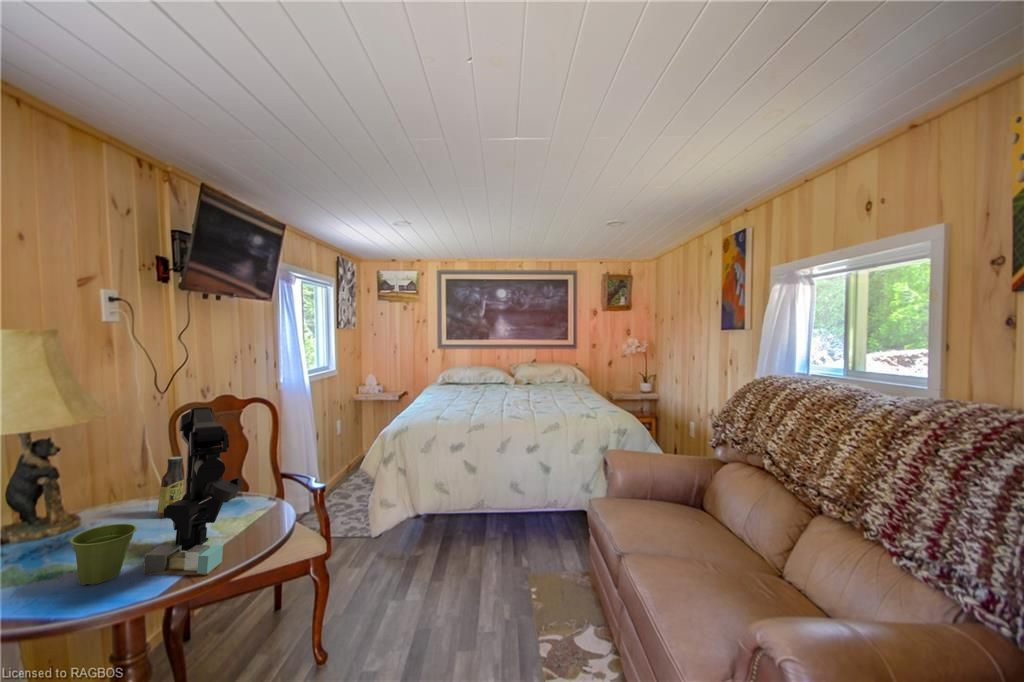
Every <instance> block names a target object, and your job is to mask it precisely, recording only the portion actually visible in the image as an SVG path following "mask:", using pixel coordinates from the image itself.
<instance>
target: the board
mask: <svg viewBox="0 0 1024 682" xmlns="http://www.w3.org/2000/svg"><path fill="white" fill-rule="evenodd" d="M220 564H221V565H222V562H221V563H220ZM220 564H219V565H220ZM219 565H217V566H219ZM221 565H220V566H221ZM217 566H216V567H217ZM220 566H219V567H220ZM216 567H215V568H216ZM215 568H213V569H215ZM217 568H218V567H217ZM217 568H216V569H217ZM213 569H212V570H213ZM216 569H215V570H216ZM212 570H211V571H212ZM211 571H210V572H211ZM210 572H208V573H210ZM212 572H213V571H212ZM212 572H211V573H212ZM208 573H207V574H208ZM211 573H210V574H211ZM143 574H144V575H163V576H164V575H167V576H169V575H174V576H175V575H176V576H196V575H195V574H199V573H197V571H187V570H181V569H166V571H165V572H164V573H156V572H144V571H143ZM178 574H179V575H178ZM193 574H194V575H193Z"/></svg>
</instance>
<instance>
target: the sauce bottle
mask: <svg viewBox="0 0 1024 682" xmlns="http://www.w3.org/2000/svg"><path fill="white" fill-rule="evenodd" d="M183 460H184V457H183V456H170V457H168V458H167V468H166V472H165V474H164V475H163V476H162V478H161V483H160V488H159V489H160V490H159V496H158V505H157V517H158V518H161V519H164V518H167V517H163V510H164V508H165V507H166V506H167V505H169V504H171V503H174V502H176V501H178V500H181V499H182V498H183V496H184V487H185V477H184V474H183V471H182V469H183V468H182V466H183V465H182V464H183Z"/></svg>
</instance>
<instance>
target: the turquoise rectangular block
mask: <svg viewBox="0 0 1024 682" xmlns="http://www.w3.org/2000/svg"><path fill="white" fill-rule="evenodd" d="M223 551H224V545H223V544H214V545H211V546H210V548H209V549H208V550H206V551H205V552H203V553H202V554H200V555H199V557H198V568H197V573H199V574H207V573H208V572H210V571H211V570H212V569H213V568H215V567H216V566H217V565H219V564H220V563H221V564H222V561H223Z"/></svg>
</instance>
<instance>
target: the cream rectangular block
mask: <svg viewBox="0 0 1024 682" xmlns="http://www.w3.org/2000/svg"><path fill="white" fill-rule="evenodd" d="M210 547H211V545H210V544H201V545H196V546H194V547H193V548H191V549H190V550H187V551H181V552H174V553H172V554H171V555H169V556H167V564H166V569H181V570H187V571H197V568H198V557H199V555H200V554H202V553H203V552H205V551H206V550H208V549H209V548H210Z"/></svg>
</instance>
